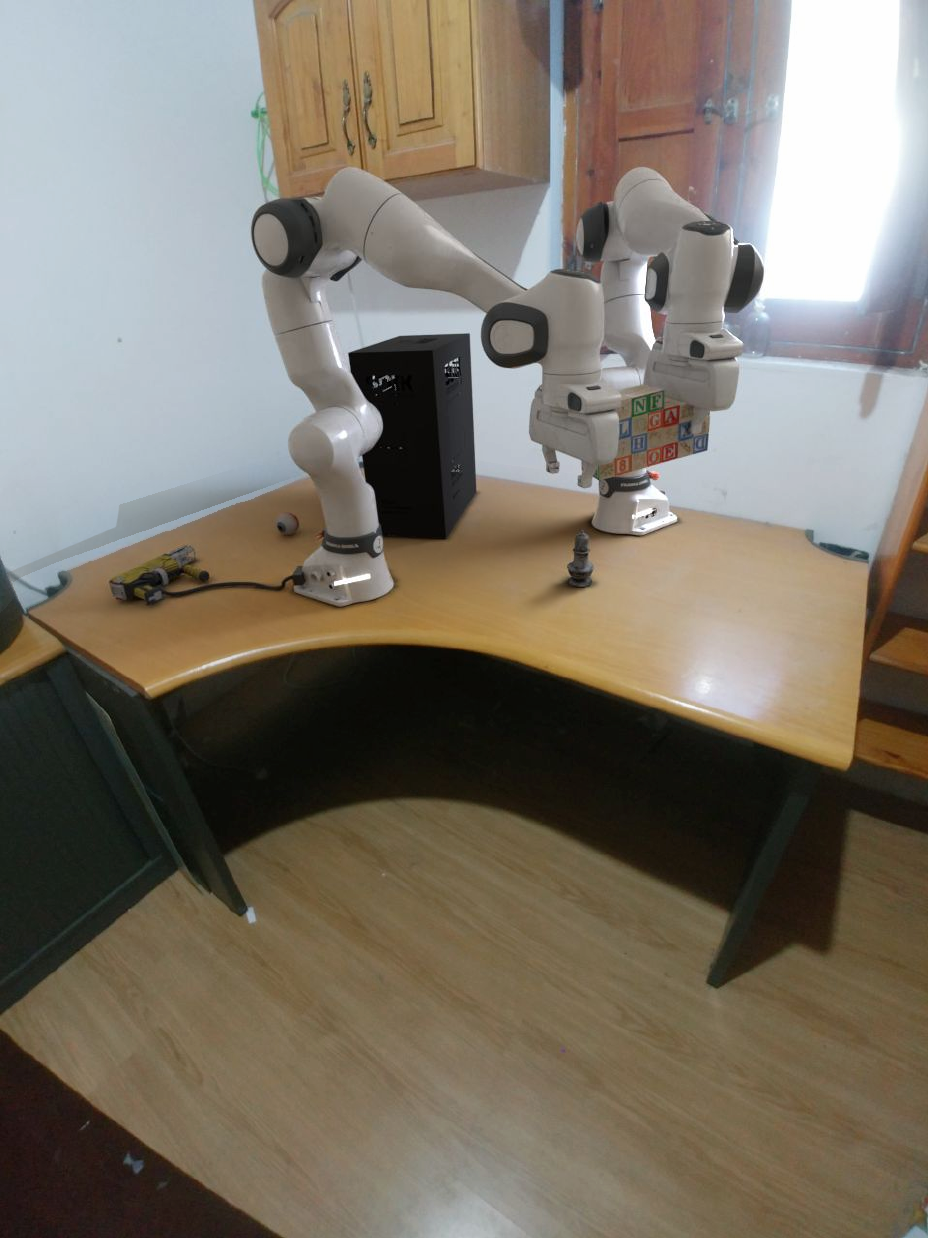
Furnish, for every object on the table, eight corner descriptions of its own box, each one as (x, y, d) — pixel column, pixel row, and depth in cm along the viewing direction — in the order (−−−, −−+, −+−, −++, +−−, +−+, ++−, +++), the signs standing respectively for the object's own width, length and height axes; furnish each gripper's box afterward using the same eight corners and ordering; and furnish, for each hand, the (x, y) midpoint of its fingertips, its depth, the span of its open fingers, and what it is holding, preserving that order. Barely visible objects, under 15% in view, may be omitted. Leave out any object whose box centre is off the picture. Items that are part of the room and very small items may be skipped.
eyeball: (273, 537, 164) (268, 516, 161) (287, 528, 169) (282, 508, 166) (291, 539, 161) (286, 518, 158) (305, 530, 166) (301, 510, 163)
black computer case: (446, 538, 156) (432, 350, 134) (372, 535, 161) (348, 352, 138) (476, 491, 188) (469, 333, 165) (414, 490, 192) (399, 335, 170)
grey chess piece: (593, 587, 128) (596, 535, 122) (565, 586, 130) (567, 534, 124) (593, 575, 133) (596, 524, 127) (566, 574, 135) (568, 524, 129)
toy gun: (232, 553, 147) (182, 542, 151) (158, 593, 127) (102, 580, 131) (234, 570, 150) (185, 559, 154) (162, 613, 130) (107, 599, 134)
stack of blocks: (685, 443, 110) (689, 372, 103) (708, 451, 105) (713, 377, 98) (580, 471, 106) (577, 398, 99) (598, 481, 100) (596, 405, 94)
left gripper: (519, 384, 99) (520, 467, 106) (592, 403, 83) (587, 499, 90) (552, 380, 102) (550, 461, 109) (629, 397, 85) (621, 492, 92)
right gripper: (638, 337, 105) (631, 418, 112) (716, 349, 88) (702, 444, 95) (669, 333, 107) (660, 414, 114) (751, 345, 90) (735, 439, 97)
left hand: (567, 479), depth 99 cm, fingers open, 8 cm apart
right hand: (680, 428), depth 104 cm, fingers closed on stack of blocks, 6 cm apart
